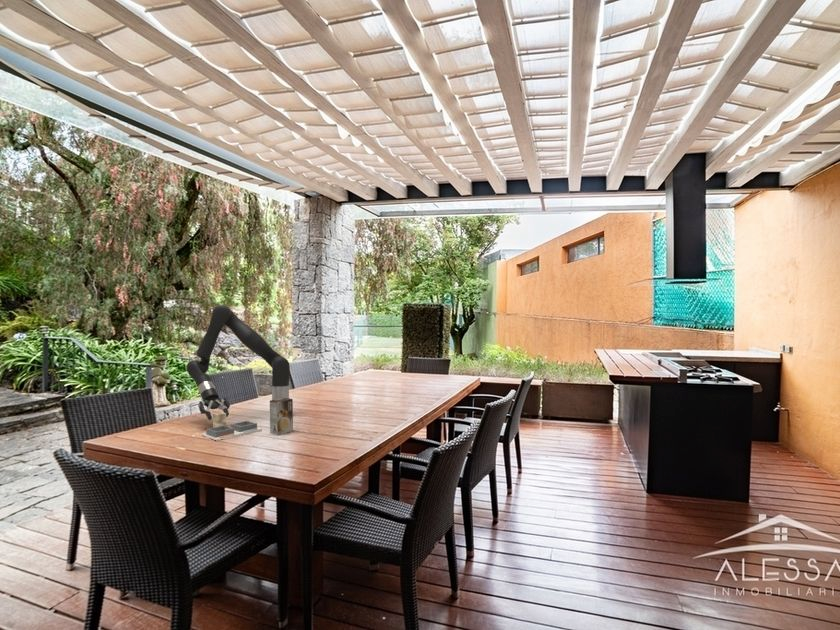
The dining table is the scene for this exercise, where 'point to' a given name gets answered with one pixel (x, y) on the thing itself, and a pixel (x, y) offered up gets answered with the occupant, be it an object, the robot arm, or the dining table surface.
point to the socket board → (232, 430)
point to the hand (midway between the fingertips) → (219, 417)
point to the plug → (219, 419)
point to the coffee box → (281, 416)
